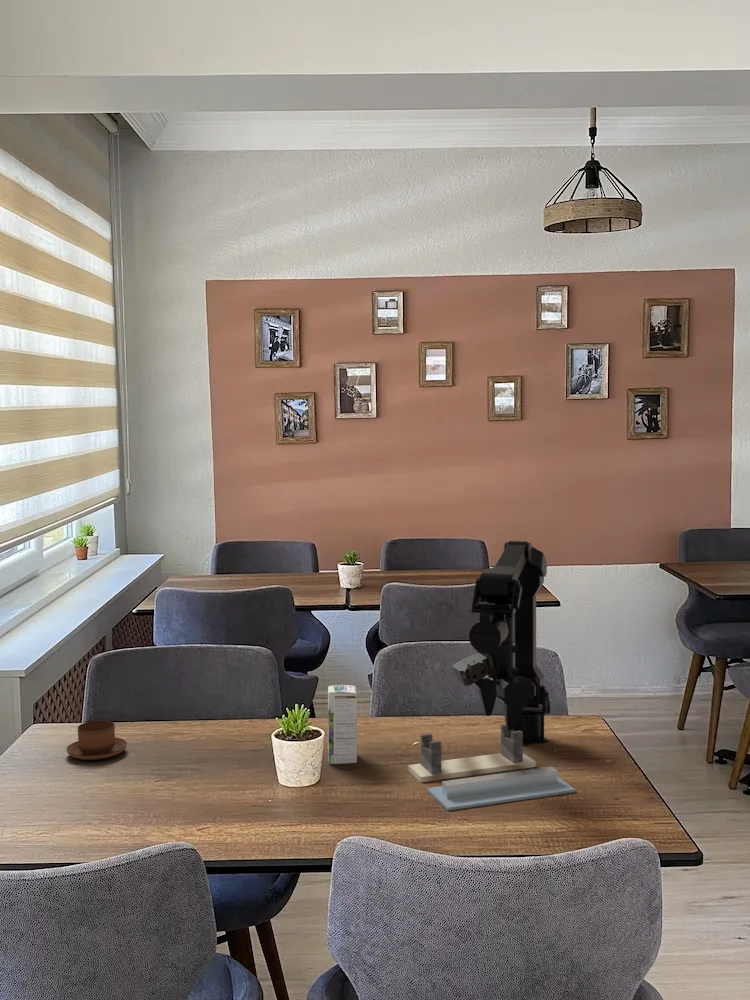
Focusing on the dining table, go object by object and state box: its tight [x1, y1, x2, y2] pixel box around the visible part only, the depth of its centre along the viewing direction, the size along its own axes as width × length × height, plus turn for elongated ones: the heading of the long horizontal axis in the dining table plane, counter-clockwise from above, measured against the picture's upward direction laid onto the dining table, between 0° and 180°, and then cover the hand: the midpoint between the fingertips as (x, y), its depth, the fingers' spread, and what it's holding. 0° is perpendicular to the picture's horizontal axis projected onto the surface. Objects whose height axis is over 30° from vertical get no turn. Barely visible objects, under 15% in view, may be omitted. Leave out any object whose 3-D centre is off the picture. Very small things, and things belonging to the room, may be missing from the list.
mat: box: [426, 777, 576, 811], centre depth 186 cm, size 25×10×1 cm, turn 108°
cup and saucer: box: [66, 720, 128, 761], centre depth 210 cm, size 12×12×6 cm
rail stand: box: [407, 723, 537, 783], centre depth 198 cm, size 24×7×7 cm, turn 108°
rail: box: [441, 766, 559, 799], centre depth 186 cm, size 22×2×2 cm, turn 108°
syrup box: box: [327, 684, 358, 765], centre depth 204 cm, size 6×6×14 cm
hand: (498, 722), depth 189 cm, fingers open, 9 cm apart
